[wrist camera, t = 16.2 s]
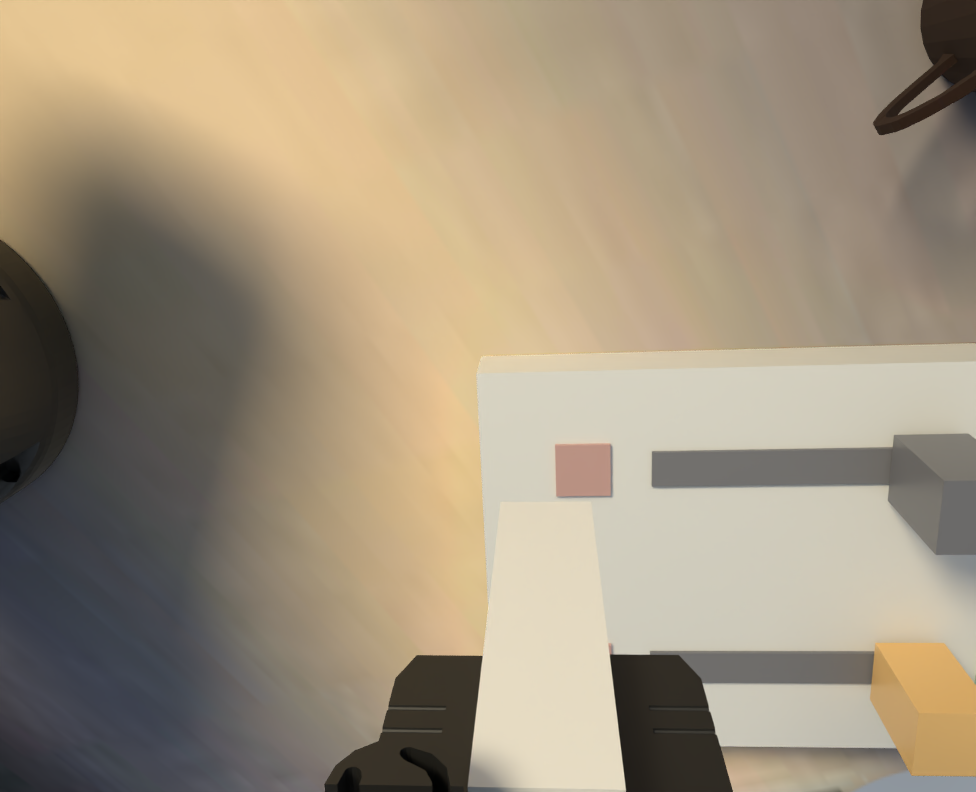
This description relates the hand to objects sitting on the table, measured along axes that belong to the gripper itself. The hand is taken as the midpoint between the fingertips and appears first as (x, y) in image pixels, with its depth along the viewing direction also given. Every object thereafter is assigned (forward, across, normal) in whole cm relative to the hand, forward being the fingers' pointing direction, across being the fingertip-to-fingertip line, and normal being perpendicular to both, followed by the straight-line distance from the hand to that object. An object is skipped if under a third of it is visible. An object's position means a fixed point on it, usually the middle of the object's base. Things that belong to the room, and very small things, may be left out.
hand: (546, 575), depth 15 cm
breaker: (+22, +16, -7) cm, 28 cm away
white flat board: (+26, +11, -12) cm, 31 cm away
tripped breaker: (+22, +16, -17) cm, 33 cm away
